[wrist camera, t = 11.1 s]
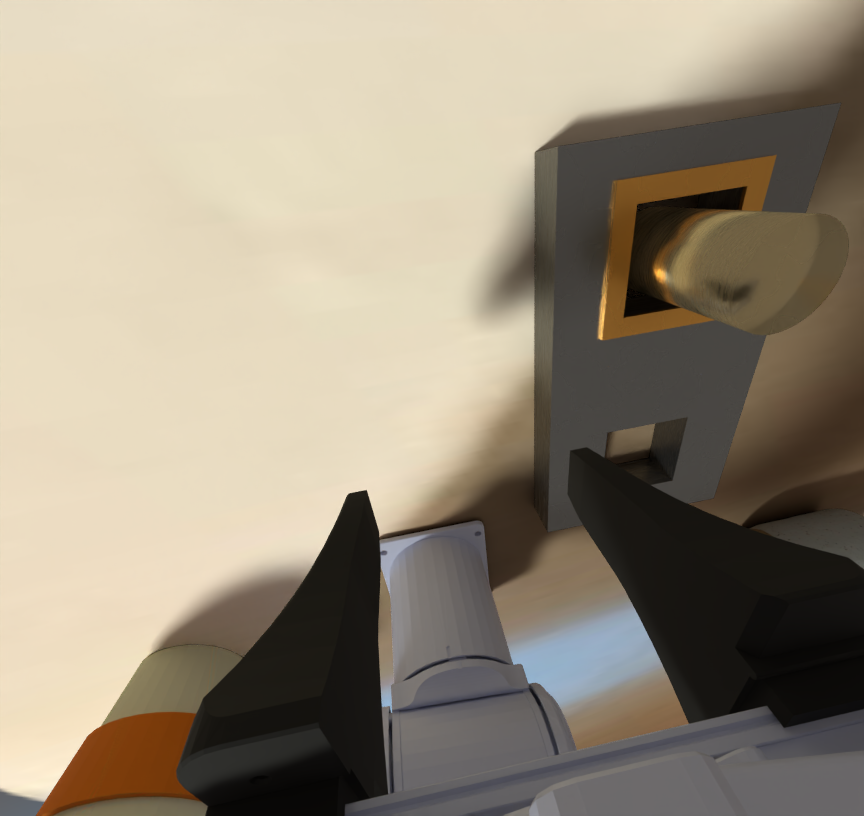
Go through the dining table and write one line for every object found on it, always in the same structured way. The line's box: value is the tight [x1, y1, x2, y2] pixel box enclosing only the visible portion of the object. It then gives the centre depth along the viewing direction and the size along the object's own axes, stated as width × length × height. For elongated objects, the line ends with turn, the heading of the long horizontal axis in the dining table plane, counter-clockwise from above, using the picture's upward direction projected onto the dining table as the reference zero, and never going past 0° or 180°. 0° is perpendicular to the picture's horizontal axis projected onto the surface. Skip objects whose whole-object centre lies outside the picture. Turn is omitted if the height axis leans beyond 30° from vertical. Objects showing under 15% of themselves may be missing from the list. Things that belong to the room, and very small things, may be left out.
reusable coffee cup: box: [36, 645, 242, 816], centre depth 26 cm, size 13×13×15 cm
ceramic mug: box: [749, 509, 864, 569], centre depth 31 cm, size 11×8×8 cm
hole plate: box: [534, 103, 841, 532], centre depth 22 cm, size 22×12×3 cm, turn 8°
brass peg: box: [627, 207, 849, 335], centre depth 17 cm, size 4×4×8 cm
